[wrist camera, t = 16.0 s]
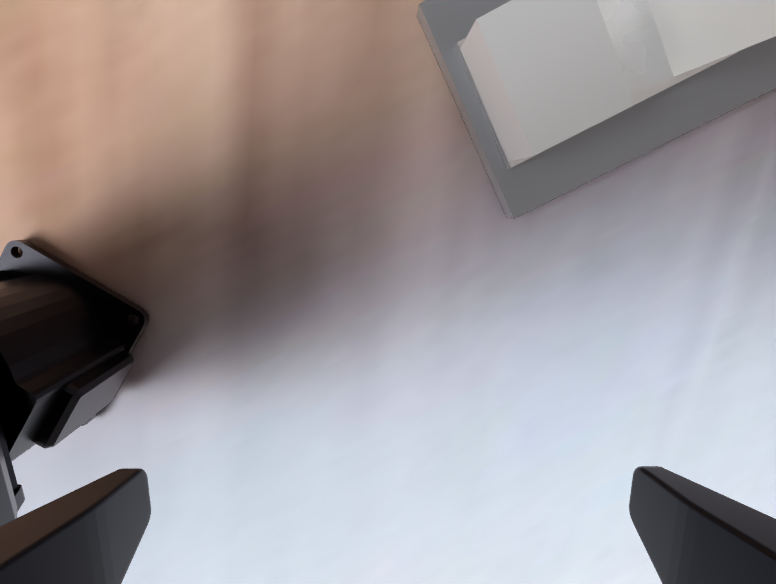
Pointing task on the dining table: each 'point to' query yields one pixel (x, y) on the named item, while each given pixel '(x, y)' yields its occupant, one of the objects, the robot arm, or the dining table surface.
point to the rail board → (601, 137)
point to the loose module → (710, 28)
